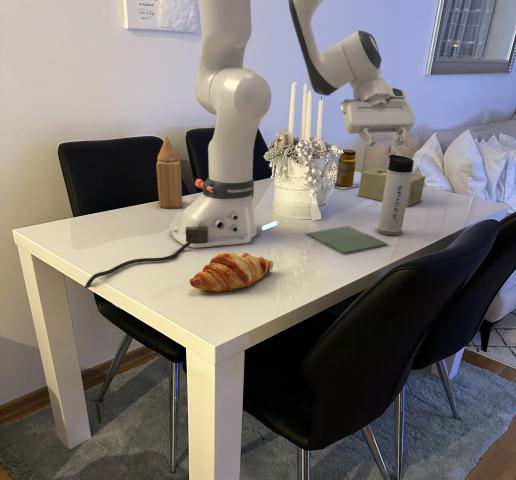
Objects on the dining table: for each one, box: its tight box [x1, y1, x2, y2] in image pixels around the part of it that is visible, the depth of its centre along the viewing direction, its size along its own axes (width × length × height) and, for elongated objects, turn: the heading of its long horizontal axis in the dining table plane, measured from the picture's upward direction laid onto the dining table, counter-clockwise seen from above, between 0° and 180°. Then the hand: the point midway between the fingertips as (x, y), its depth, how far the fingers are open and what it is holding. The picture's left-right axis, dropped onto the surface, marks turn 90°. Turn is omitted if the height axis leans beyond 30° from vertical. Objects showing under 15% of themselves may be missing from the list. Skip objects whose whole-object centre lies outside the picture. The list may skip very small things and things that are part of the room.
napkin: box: [306, 226, 388, 255], centre depth 133 cm, size 14×16×1 cm
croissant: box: [189, 252, 274, 293], centre depth 106 cm, size 21×10×8 cm, turn 129°
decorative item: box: [156, 136, 183, 209], centre depth 149 cm, size 7×7×20 cm
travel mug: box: [377, 154, 414, 237], centre depth 134 cm, size 6×7×20 cm
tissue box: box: [358, 148, 426, 208], centre depth 165 cm, size 19×10×16 cm, turn 51°
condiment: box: [333, 149, 358, 190], centre depth 179 cm, size 7×8×12 cm
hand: (387, 144), depth 134 cm, fingers open, 8 cm apart
